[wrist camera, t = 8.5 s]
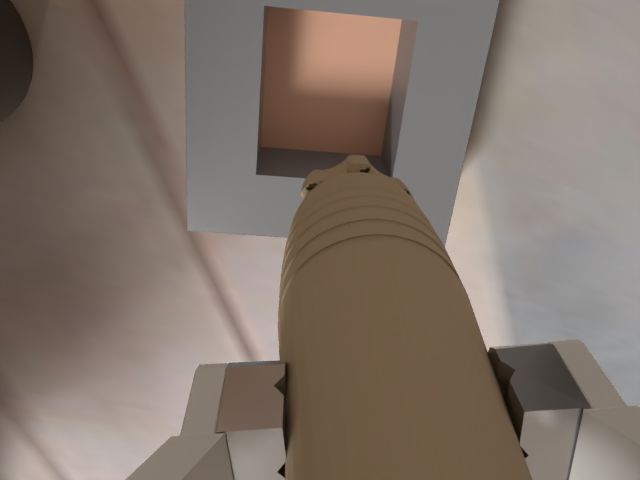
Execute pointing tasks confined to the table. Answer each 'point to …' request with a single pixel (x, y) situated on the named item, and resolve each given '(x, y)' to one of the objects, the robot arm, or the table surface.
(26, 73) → the water bottle
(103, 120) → the table surface
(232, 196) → the socket block
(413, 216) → the handle
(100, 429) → the table surface
